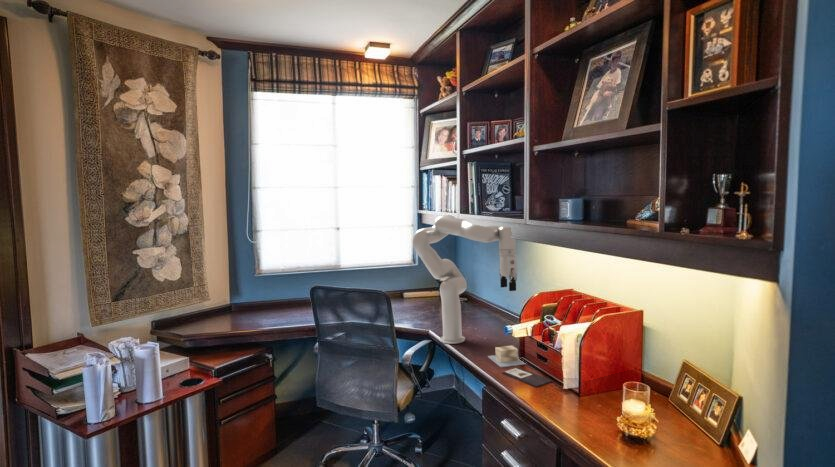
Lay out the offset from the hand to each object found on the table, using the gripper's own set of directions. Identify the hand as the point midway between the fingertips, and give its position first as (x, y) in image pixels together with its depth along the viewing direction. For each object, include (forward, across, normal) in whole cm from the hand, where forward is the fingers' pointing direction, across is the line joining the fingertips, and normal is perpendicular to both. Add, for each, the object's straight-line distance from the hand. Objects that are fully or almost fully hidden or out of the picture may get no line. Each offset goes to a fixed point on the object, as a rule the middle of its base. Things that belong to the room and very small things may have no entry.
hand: (508, 288), depth 213 cm
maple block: (+28, -16, +8) cm, 33 cm away
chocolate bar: (+29, -36, +9) cm, 47 cm away
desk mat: (+28, -16, +8) cm, 33 cm away
